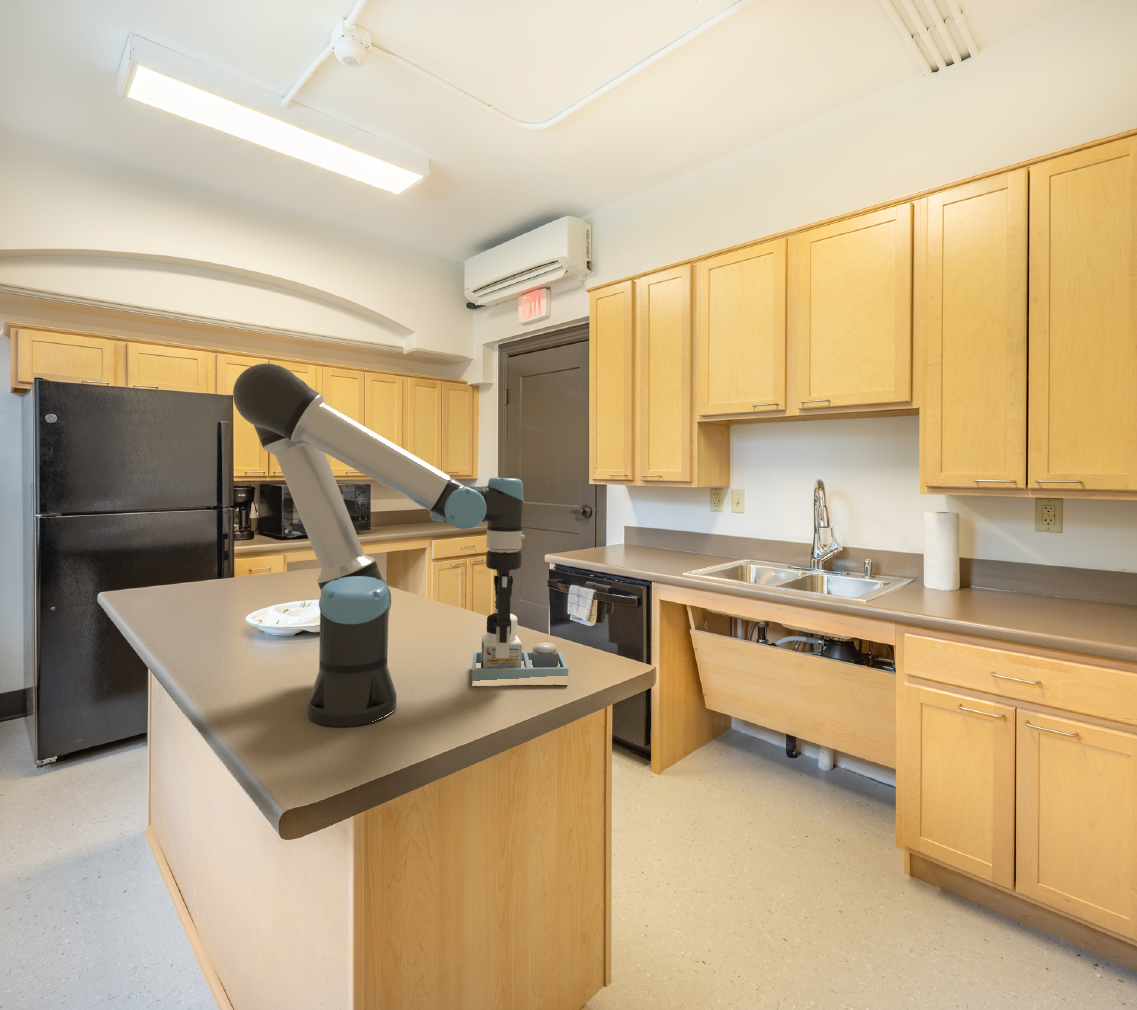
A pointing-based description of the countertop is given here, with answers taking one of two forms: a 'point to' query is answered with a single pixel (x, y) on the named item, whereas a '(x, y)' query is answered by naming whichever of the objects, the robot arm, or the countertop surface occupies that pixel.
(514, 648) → the container
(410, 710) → the countertop surface
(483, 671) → the tray
